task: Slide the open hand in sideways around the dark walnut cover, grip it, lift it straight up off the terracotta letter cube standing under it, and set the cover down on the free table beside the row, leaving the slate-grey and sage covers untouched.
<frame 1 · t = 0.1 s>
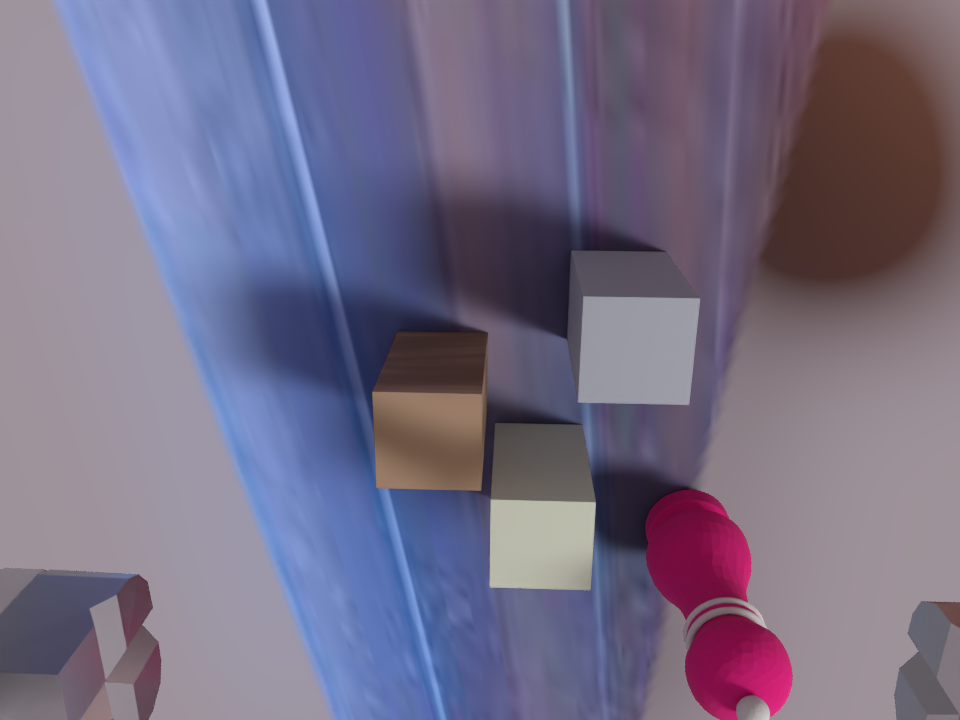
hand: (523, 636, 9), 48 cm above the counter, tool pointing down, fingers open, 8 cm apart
cover c: (537, 462, 62), on the counter
pepper mill: (685, 523, 63), on the counter
cover b: (615, 296, 57), on the counter
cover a: (442, 373, 60), on the counter
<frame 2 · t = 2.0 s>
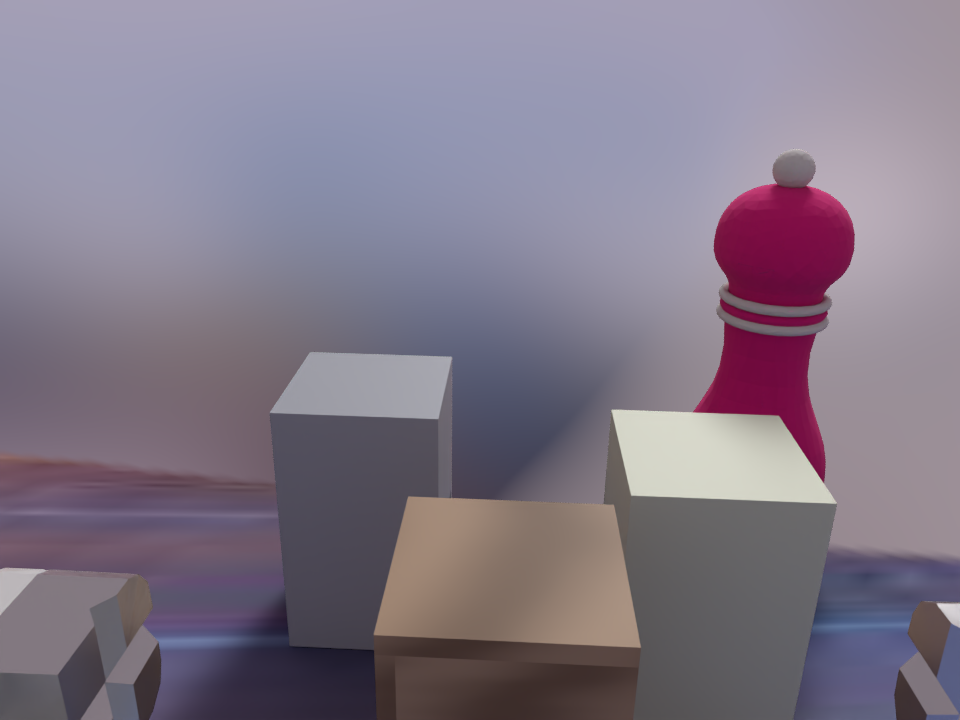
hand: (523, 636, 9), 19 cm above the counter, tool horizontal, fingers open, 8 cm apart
cover c: (679, 696, 33), on the counter
pepper mill: (736, 541, 44), on the counter
cover b: (376, 601, 38), on the counter
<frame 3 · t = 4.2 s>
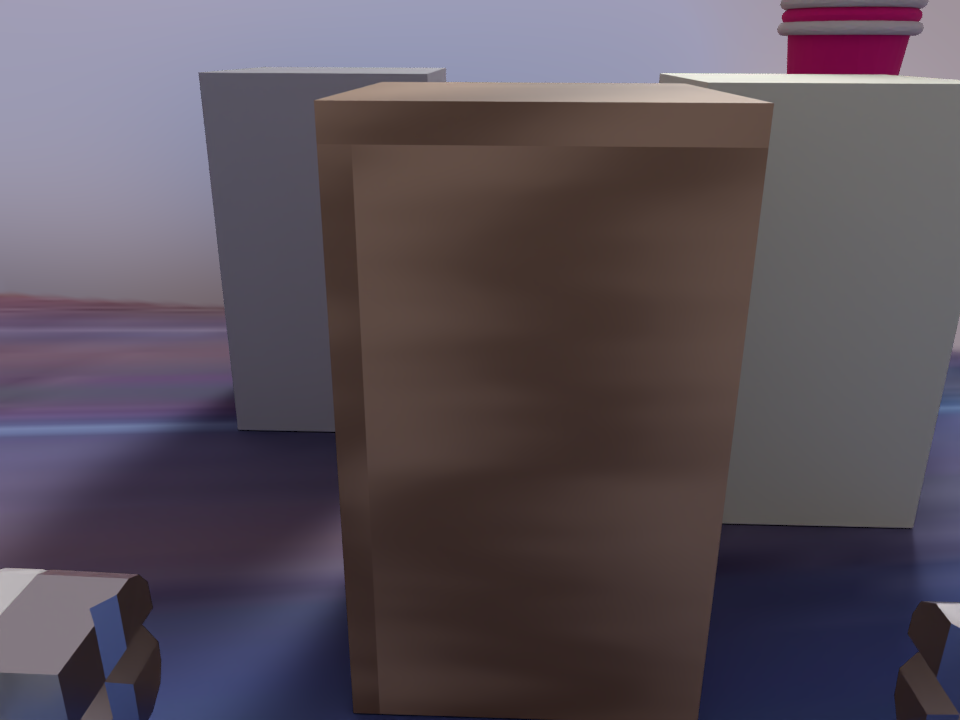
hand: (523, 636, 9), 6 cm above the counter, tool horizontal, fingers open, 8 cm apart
cover c: (755, 467, 25), on the counter
pepper mill: (800, 346, 35), on the counter
cover b: (353, 393, 30), on the counter
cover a: (522, 609, 18), on the counter
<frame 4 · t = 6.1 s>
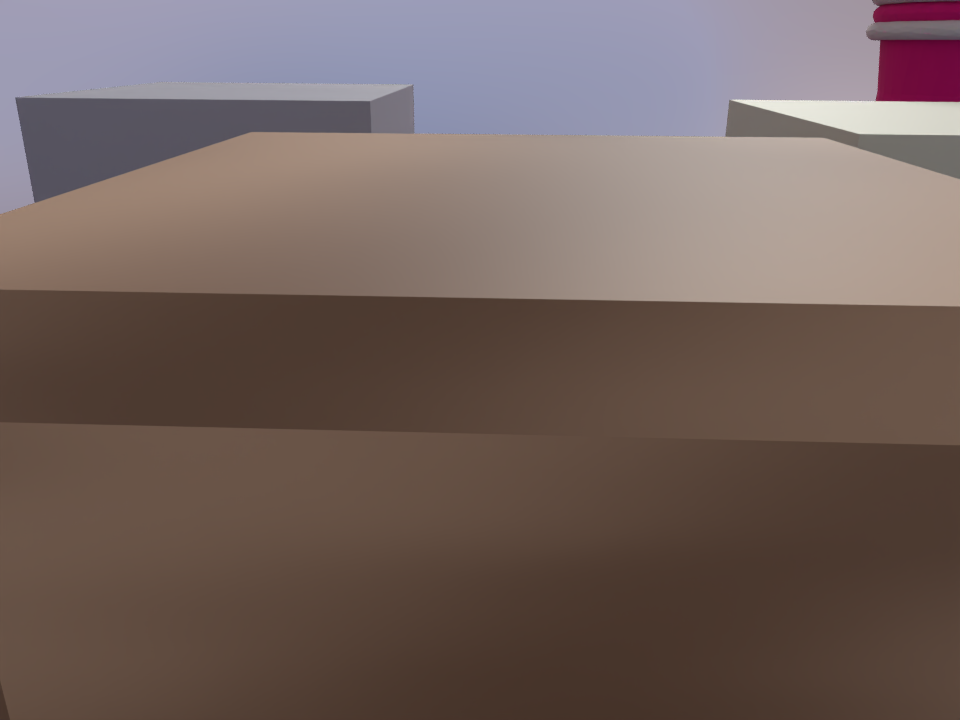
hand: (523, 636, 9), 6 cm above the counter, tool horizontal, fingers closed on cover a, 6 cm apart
cover c: (867, 690, 16), on the counter
pepper mill: (883, 444, 27), on the counter
cover b: (285, 532, 22), on the counter
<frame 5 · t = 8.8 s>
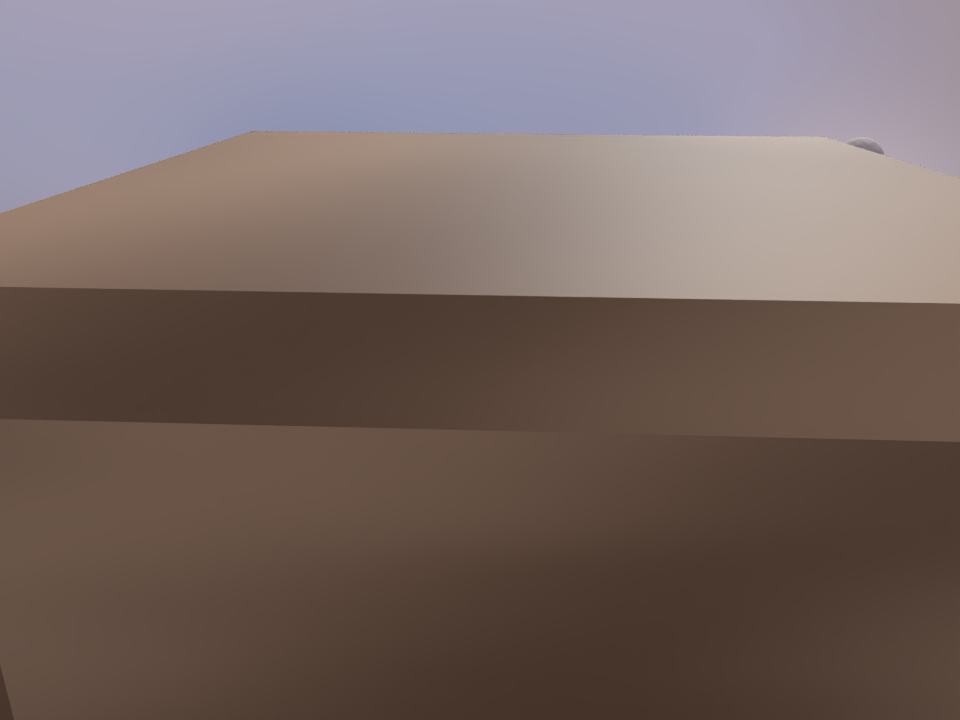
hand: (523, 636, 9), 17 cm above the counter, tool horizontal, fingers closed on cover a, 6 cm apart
pepper mill: (782, 585, 38), on the counter
when the fingers open (7 cm above the counter, at t = 11.5 s): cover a stays where it is, on the counter.
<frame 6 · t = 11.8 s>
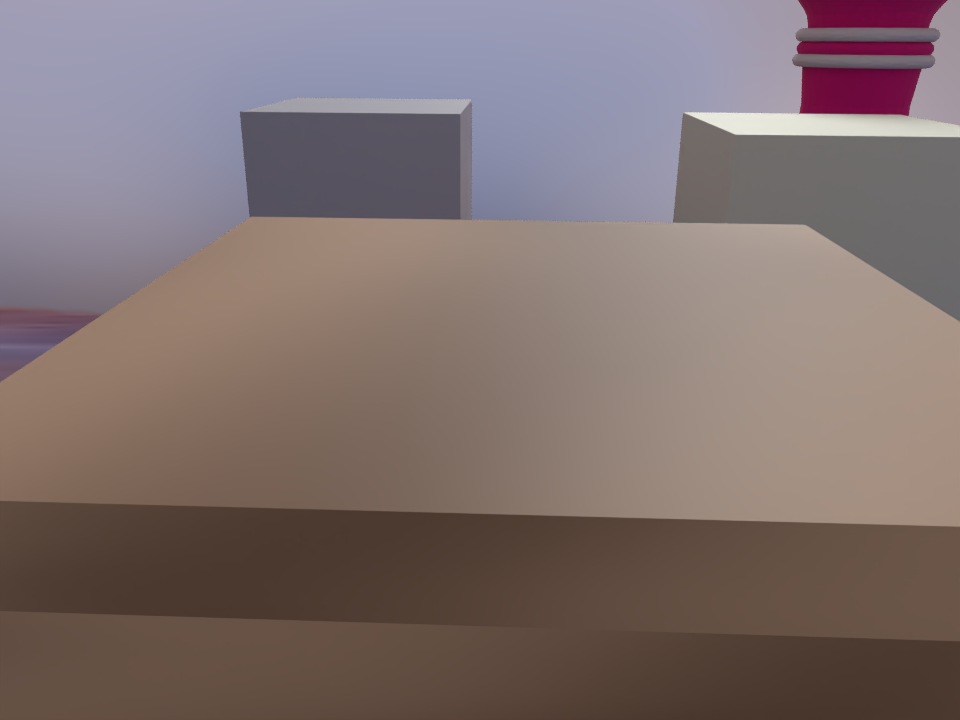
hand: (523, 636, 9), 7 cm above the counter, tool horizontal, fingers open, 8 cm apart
cover c: (772, 491, 26), on the counter
pepper mill: (812, 365, 36), on the counter
cover b: (380, 413, 31), on the counter
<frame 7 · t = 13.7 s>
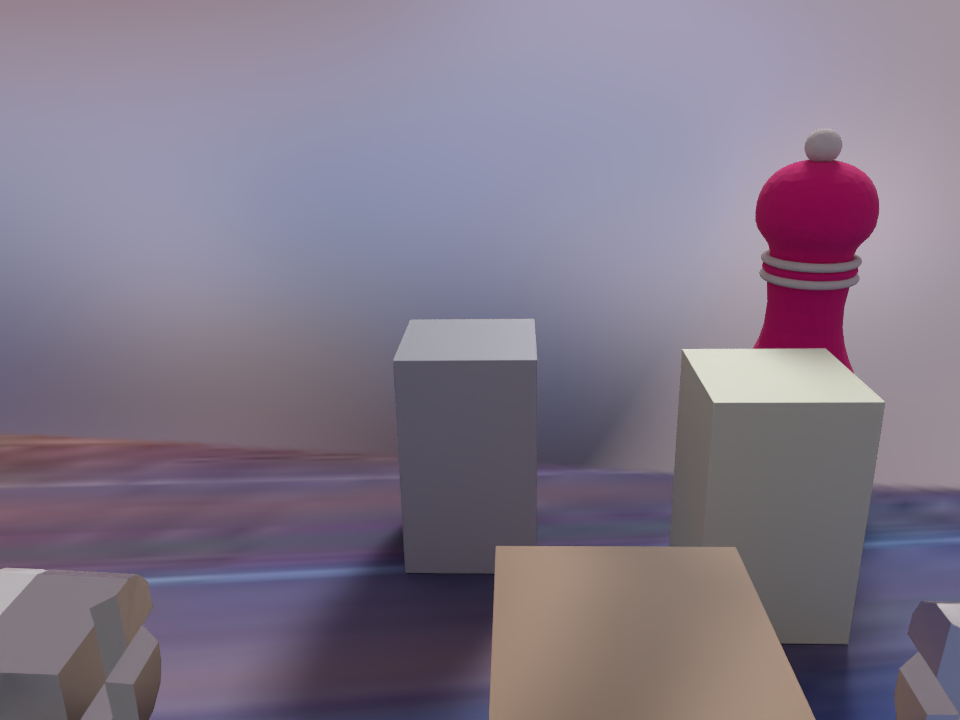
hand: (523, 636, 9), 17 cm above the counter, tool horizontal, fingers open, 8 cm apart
cover c: (750, 597, 38), on the counter
pepper mill: (784, 483, 49), on the counter
cover b: (473, 538, 43), on the counter
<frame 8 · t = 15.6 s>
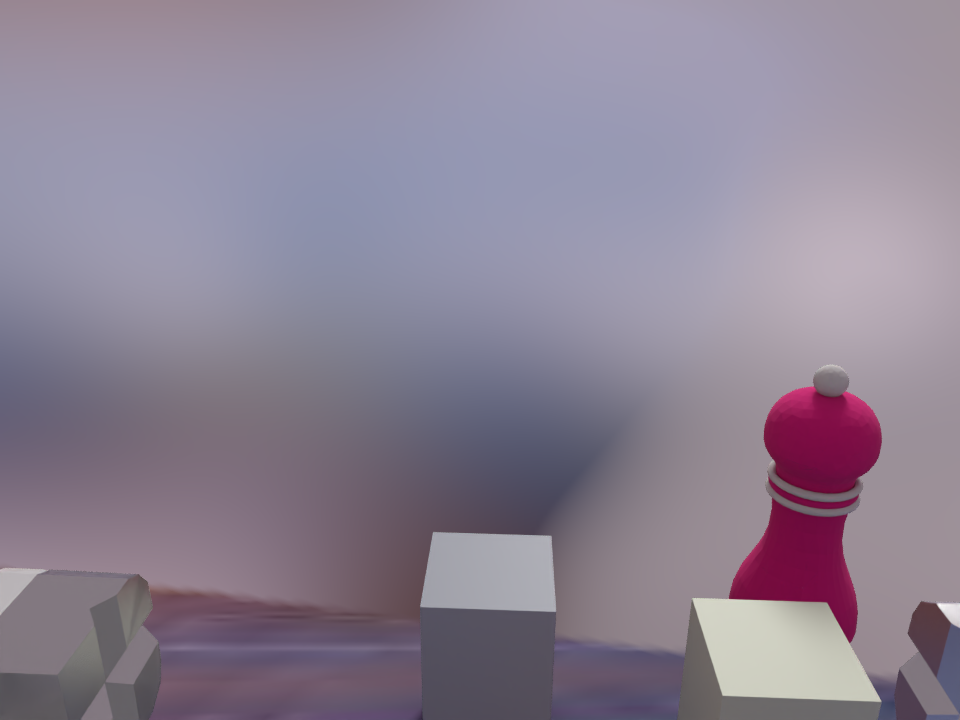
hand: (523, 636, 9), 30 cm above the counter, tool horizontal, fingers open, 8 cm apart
pepper mill: (781, 668, 51), on the counter
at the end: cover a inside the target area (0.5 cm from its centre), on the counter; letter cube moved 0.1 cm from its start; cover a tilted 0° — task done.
